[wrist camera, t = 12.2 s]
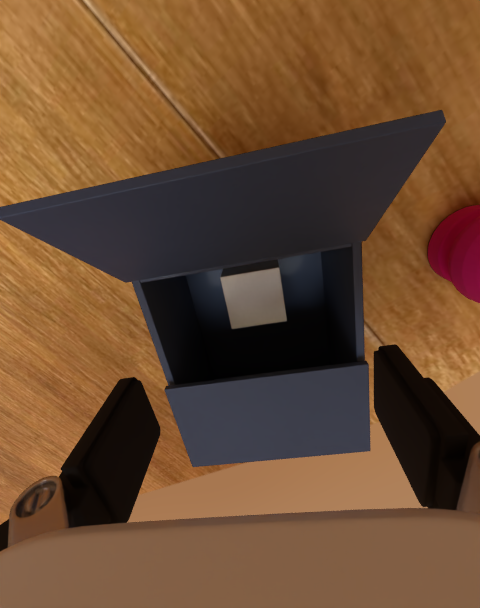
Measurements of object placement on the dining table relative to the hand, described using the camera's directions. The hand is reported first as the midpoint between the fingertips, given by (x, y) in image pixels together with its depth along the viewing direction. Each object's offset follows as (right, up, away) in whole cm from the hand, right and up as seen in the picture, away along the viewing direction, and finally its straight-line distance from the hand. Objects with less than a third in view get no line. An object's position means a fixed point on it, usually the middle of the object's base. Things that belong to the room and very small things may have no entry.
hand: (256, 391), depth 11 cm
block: (+1, +6, +14) cm, 15 cm away
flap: (-1, +6, 0) cm, 6 cm away
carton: (+1, +3, +16) cm, 16 cm away
